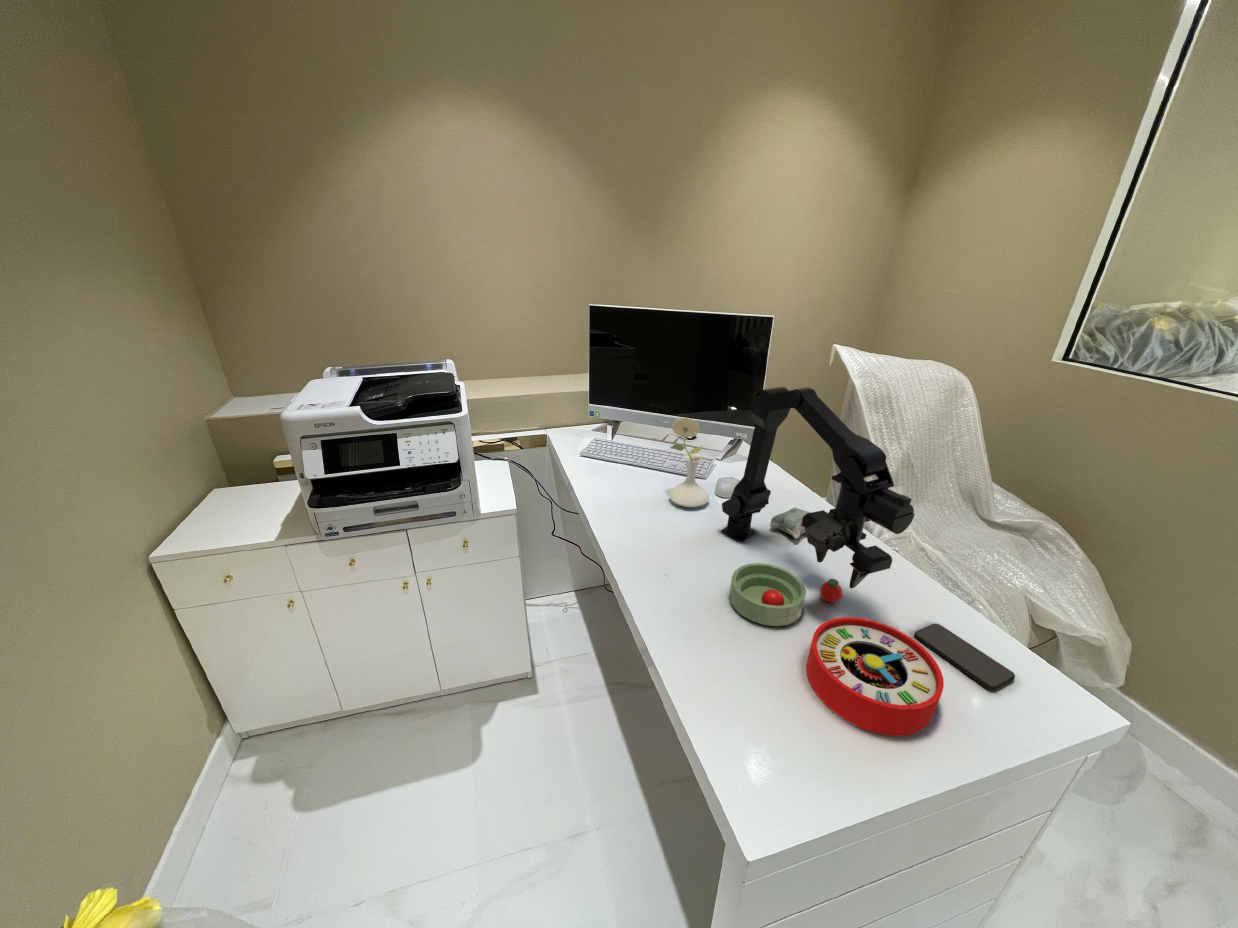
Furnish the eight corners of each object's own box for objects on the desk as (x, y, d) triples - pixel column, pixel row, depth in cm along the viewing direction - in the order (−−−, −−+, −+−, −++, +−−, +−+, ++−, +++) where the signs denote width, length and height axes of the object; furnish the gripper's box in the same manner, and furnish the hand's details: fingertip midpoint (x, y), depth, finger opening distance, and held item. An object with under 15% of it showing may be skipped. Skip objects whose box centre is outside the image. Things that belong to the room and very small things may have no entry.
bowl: (752, 573, 114) (755, 555, 112) (813, 604, 105) (818, 584, 103) (715, 602, 105) (718, 583, 103) (779, 639, 95) (783, 618, 93)
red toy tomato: (817, 591, 109) (821, 573, 107) (838, 595, 108) (843, 577, 106) (819, 604, 105) (823, 586, 103) (841, 608, 104) (846, 589, 102)
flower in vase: (714, 499, 146) (724, 418, 136) (698, 515, 138) (707, 429, 127) (674, 487, 153) (680, 409, 142) (656, 502, 144) (661, 419, 134)
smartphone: (936, 621, 100) (1018, 674, 87) (935, 625, 100) (1016, 678, 88) (911, 632, 97) (993, 689, 84) (910, 636, 97) (991, 693, 85)
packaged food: (822, 531, 132) (826, 514, 130) (794, 545, 125) (798, 528, 123) (794, 517, 138) (797, 501, 136) (766, 530, 132) (769, 513, 130)
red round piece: (773, 581, 101) (784, 600, 98) (781, 591, 104) (792, 610, 100) (754, 592, 102) (764, 611, 99) (763, 601, 105) (772, 620, 101)
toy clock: (788, 627, 90) (879, 608, 95) (783, 652, 92) (872, 632, 98) (868, 722, 73) (974, 692, 78) (859, 750, 75) (963, 719, 80)
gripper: (786, 493, 102) (775, 556, 109) (855, 540, 87) (837, 612, 93) (830, 485, 106) (816, 547, 113) (903, 529, 90) (882, 599, 97)
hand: (835, 574), depth 104 cm, fingers open, 9 cm apart
